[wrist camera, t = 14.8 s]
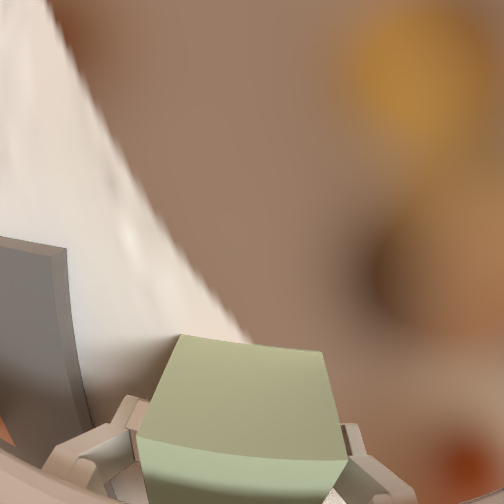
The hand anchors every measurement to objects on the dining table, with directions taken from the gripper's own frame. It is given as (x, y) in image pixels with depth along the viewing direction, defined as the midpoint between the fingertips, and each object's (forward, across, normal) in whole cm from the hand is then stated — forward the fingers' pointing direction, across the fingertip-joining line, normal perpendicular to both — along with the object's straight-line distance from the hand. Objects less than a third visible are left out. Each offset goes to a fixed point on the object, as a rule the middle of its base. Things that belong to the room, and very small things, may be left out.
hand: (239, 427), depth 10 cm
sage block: (+2, 0, 0) cm, 2 cm away
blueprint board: (+2, -17, -5) cm, 18 cm away
